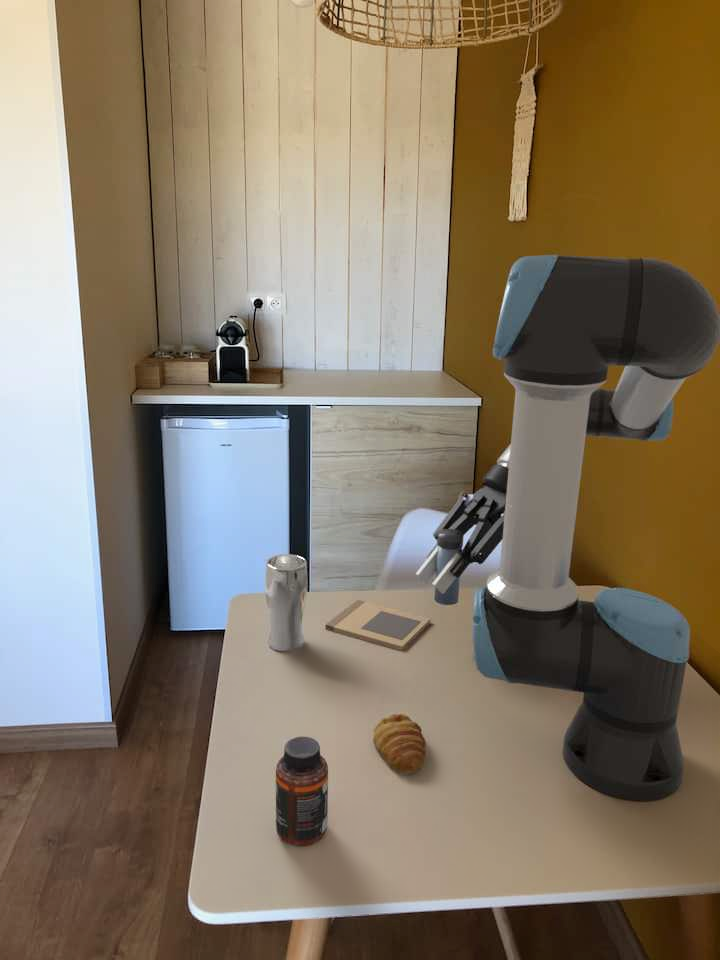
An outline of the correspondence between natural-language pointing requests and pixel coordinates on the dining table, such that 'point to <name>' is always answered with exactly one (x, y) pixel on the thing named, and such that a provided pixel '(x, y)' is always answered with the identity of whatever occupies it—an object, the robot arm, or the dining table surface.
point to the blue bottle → (447, 549)
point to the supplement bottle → (301, 793)
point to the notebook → (378, 624)
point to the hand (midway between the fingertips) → (429, 583)
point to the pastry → (400, 743)
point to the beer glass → (286, 600)
